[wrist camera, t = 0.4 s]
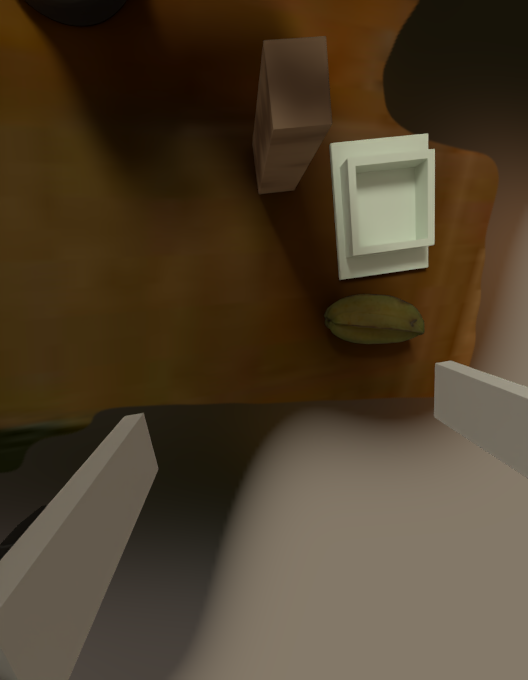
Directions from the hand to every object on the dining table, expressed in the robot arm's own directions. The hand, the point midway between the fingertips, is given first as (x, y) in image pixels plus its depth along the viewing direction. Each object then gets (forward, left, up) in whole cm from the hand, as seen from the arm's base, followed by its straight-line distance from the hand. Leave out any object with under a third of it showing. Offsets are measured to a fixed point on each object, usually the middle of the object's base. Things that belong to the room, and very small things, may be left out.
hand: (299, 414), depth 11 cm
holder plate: (-14, +21, -27) cm, 37 cm away
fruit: (+1, +17, -27) cm, 32 cm away
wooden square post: (-21, +6, -27) cm, 35 cm away
